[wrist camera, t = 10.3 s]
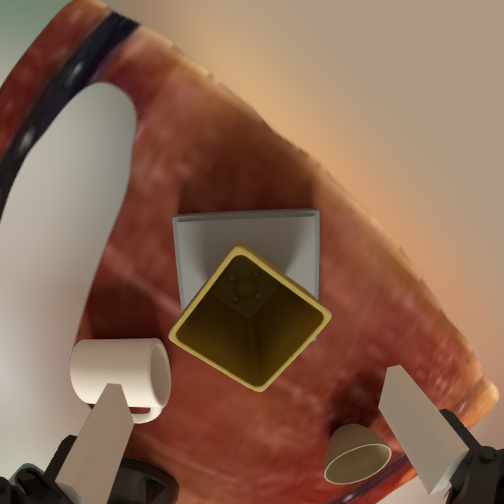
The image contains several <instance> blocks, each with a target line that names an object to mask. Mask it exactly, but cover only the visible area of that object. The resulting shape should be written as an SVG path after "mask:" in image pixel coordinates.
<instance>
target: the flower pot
mask: <svg viewBox="0 0 504 504" xmlns="http://www.w3.org/2000/svg"><path fill="white" fill-rule="evenodd" d="M254 272H257V273H258V277H253V273H254ZM230 275H233V276H234V277H235V279H234V280H233V281H231V280H230V279H229V276H230ZM257 294H260V295H261V298H260V299H256V297H255V296H256V295H257ZM234 297H237V298H238V301H237V302H233V300H232V299H233V298H234ZM331 317H332V314H331V312H330V311H329V310H328V309H327V308H326V307H325V306H324V305H323V304H322V303H320V302H319V301H318V300H317V299H316V298H315V297H314V296H313V295H312V294H311V293H310V292H309V291H307V290H306V289H305V288H303V287H302V286H301V285H299V284H298V283H296V282H295V281H294V280H292V279H291V278H289V277H288V276H287V275H285V274H284V273H283V272H281V271H280V270H279V269H277V268H276V267H275V266H273V265H272V264H271V263H269V262H268V261H267V260H266V259H264V258H263V257H262V256H260V255H259V254H258V253H256V252H255V251H254V250H253V249H251V248H250V247H249V246H247V245H246V244H245V243H243V242H240V241H239V242H236V243H235V244H234V245H233V246H232V247H231V249H230V250H229V251H228V253H227V254H226V255H225V257H224V258H223V259H222V261H221V262H220V263H219V265H218V266H217V267H216V269H215V270H214V271H213V273H212V274H211V275H210V277H209V278H208V279H207V281H206V282H205V283H204V284H203V286H202V287H201V288H200V290H199V291H198V292H197V293H196V295H195V296H194V297H193V299H192V300H191V301H190V302H189V304H188V305H187V306H186V308H185V309H184V310H183V312H182V313H181V315H180V317H179V318H178V320H177V321H176V323H175V324H174V326H173V327H172V329H171V331H170V333H169V339H170V340H171V341H172V342H174V343H175V344H177V345H178V346H180V347H181V348H183V349H184V350H186V351H188V352H189V353H191V354H193V355H195V356H196V357H198V358H200V359H201V360H203V361H205V362H207V363H208V364H210V365H212V366H213V367H215V368H217V369H218V370H220V371H222V372H223V373H225V374H227V375H228V376H230V377H231V378H233V379H235V380H236V381H238V382H240V383H242V384H243V385H245V386H247V387H248V388H250V389H253V390H255V391H258V392H262V391H263V390H264V389H266V388H267V387H268V386H269V385H270V384H271V383H272V382H273V381H274V380H275V379H276V378H277V377H278V376H279V375H280V373H281V372H282V371H283V370H284V369H285V368H286V367H287V366H288V365H289V364H290V363H291V362H292V361H293V360H294V359H295V358H296V357H297V356H298V355H299V354H300V353H301V352H302V351H303V349H304V348H305V347H306V346H307V345H308V344H309V343H310V342H311V341H312V340H313V339H314V338H315V337H316V336H317V334H318V333H319V332H320V331H321V330H322V329H323V328H324V327H325V325H326V324H327V323H328V322H329V320H330V319H331Z"/></svg>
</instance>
